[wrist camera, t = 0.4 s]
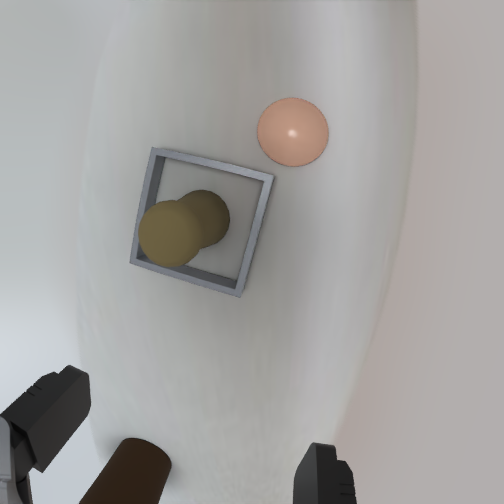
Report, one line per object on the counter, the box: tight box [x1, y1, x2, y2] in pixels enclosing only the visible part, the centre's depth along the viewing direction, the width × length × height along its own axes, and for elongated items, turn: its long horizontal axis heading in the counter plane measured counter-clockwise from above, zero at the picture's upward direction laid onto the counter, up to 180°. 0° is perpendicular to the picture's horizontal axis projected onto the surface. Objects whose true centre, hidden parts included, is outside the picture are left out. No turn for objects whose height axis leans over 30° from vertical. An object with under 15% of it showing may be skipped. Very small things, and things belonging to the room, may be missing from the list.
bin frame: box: [130, 147, 275, 298], centre depth 32 cm, size 12×12×2 cm
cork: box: [138, 190, 230, 267], centre depth 28 cm, size 6×6×11 cm
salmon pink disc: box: [257, 98, 329, 166], centre depth 30 cm, size 7×7×1 cm
